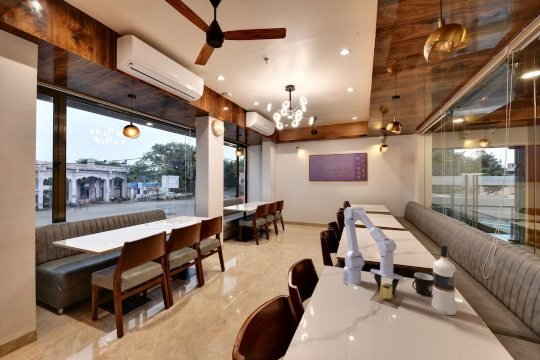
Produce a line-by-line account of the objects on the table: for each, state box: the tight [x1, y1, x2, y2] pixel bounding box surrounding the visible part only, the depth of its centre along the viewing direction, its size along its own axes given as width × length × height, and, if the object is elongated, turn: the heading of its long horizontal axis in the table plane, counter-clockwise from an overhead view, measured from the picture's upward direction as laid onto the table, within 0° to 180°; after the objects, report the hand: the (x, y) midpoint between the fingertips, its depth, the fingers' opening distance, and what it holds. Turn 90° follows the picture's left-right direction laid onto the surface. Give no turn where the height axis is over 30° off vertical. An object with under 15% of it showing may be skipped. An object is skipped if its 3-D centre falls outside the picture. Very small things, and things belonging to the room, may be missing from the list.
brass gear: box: [380, 283, 393, 299], centre depth 113 cm, size 6×6×4 cm
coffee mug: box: [411, 272, 433, 298], centre depth 119 cm, size 12×9×10 cm
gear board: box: [369, 289, 406, 310], centre depth 115 cm, size 12×18×6 cm, turn 140°
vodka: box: [430, 244, 458, 316], centre depth 106 cm, size 9×9×30 cm
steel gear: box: [384, 283, 397, 297], centre depth 118 cm, size 6×6×4 cm
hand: (386, 291), depth 113 cm, fingers closed on brass gear, 5 cm apart
